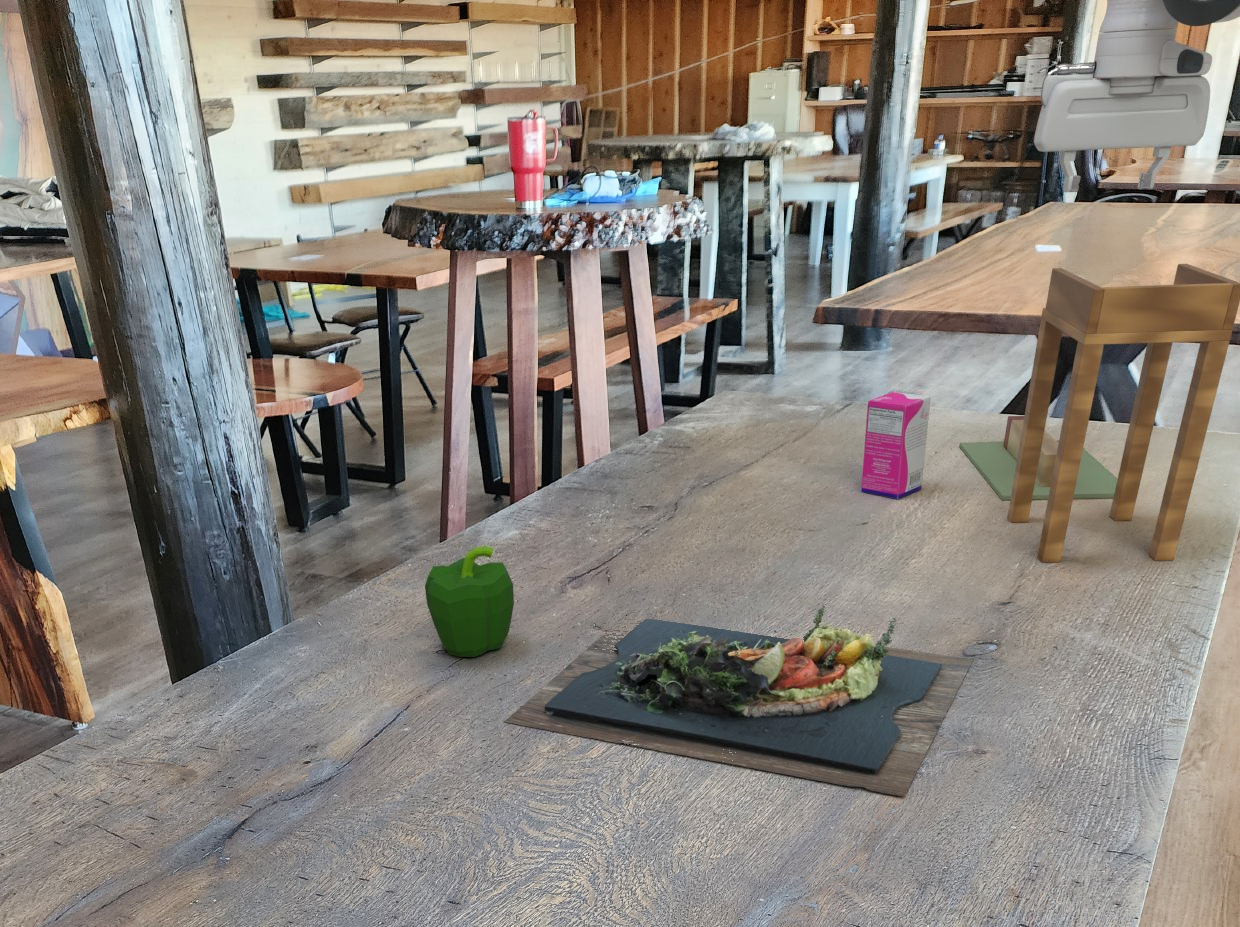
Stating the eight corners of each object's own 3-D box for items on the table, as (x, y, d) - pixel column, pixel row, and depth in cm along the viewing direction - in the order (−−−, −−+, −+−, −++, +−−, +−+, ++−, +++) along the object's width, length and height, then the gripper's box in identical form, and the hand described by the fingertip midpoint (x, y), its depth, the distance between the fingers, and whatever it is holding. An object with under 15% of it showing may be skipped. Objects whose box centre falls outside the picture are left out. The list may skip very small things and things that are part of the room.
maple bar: (1025, 445, 166) (1030, 415, 163) (1064, 486, 149) (1071, 453, 147) (1002, 446, 166) (1007, 415, 164) (1039, 487, 150) (1045, 454, 147)
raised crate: (1126, 515, 141) (1184, 261, 126) (1173, 560, 128) (1244, 283, 112) (1007, 517, 142) (1049, 266, 127) (1041, 562, 129) (1094, 288, 113)
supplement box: (883, 481, 156) (893, 389, 150) (922, 489, 152) (934, 395, 146) (858, 491, 153) (867, 398, 146) (897, 499, 149) (908, 404, 143)
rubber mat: (1073, 443, 168) (1074, 439, 167) (1133, 497, 146) (1134, 492, 146) (959, 446, 169) (959, 442, 169) (1001, 500, 148) (1002, 495, 147)
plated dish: (974, 656, 109) (986, 580, 105) (910, 804, 88) (921, 716, 84) (627, 613, 122) (624, 544, 118) (501, 733, 102) (493, 654, 97)
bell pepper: (415, 659, 113) (403, 557, 108) (453, 628, 120) (444, 530, 114) (494, 670, 111) (486, 566, 105) (529, 637, 117) (523, 537, 111)
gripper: (1052, 63, 143) (1031, 195, 151) (1226, 55, 141) (1196, 188, 149) (1038, 64, 148) (1019, 191, 156) (1206, 56, 147) (1178, 185, 154)
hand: (1107, 190), depth 153 cm, fingers open, 8 cm apart
